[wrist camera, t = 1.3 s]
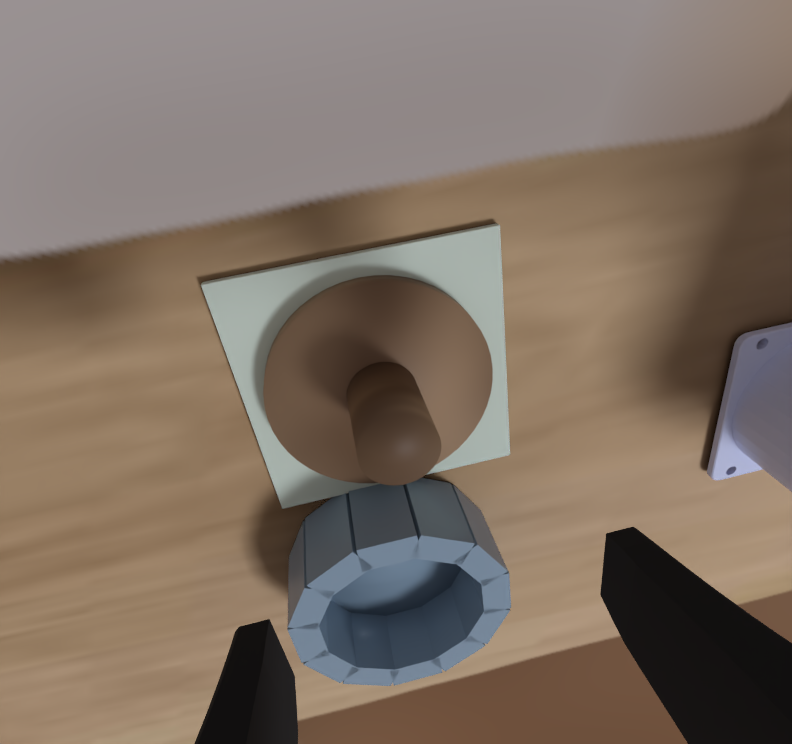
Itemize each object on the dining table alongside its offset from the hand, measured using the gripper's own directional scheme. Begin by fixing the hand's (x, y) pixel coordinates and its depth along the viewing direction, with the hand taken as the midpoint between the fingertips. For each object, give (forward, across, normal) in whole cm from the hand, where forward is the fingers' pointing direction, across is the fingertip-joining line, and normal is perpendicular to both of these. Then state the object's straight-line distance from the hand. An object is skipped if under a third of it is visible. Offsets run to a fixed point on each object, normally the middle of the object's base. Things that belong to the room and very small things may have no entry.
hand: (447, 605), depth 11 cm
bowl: (+10, +1, +10) cm, 14 cm away
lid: (+10, 0, 0) cm, 10 cm away
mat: (+10, 0, 0) cm, 10 cm away
